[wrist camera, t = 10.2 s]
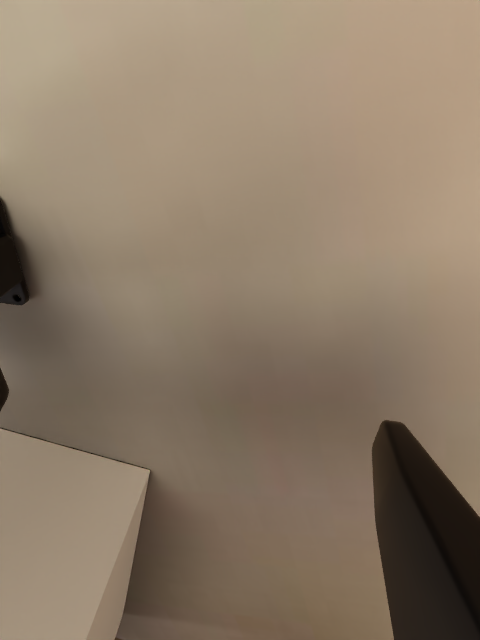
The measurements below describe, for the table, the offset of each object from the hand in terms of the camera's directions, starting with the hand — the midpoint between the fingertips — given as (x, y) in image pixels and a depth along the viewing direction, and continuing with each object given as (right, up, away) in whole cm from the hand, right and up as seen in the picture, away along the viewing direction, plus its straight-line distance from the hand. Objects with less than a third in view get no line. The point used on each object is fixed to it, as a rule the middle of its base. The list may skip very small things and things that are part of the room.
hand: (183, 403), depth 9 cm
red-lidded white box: (-20, -21, +33) cm, 44 cm away
